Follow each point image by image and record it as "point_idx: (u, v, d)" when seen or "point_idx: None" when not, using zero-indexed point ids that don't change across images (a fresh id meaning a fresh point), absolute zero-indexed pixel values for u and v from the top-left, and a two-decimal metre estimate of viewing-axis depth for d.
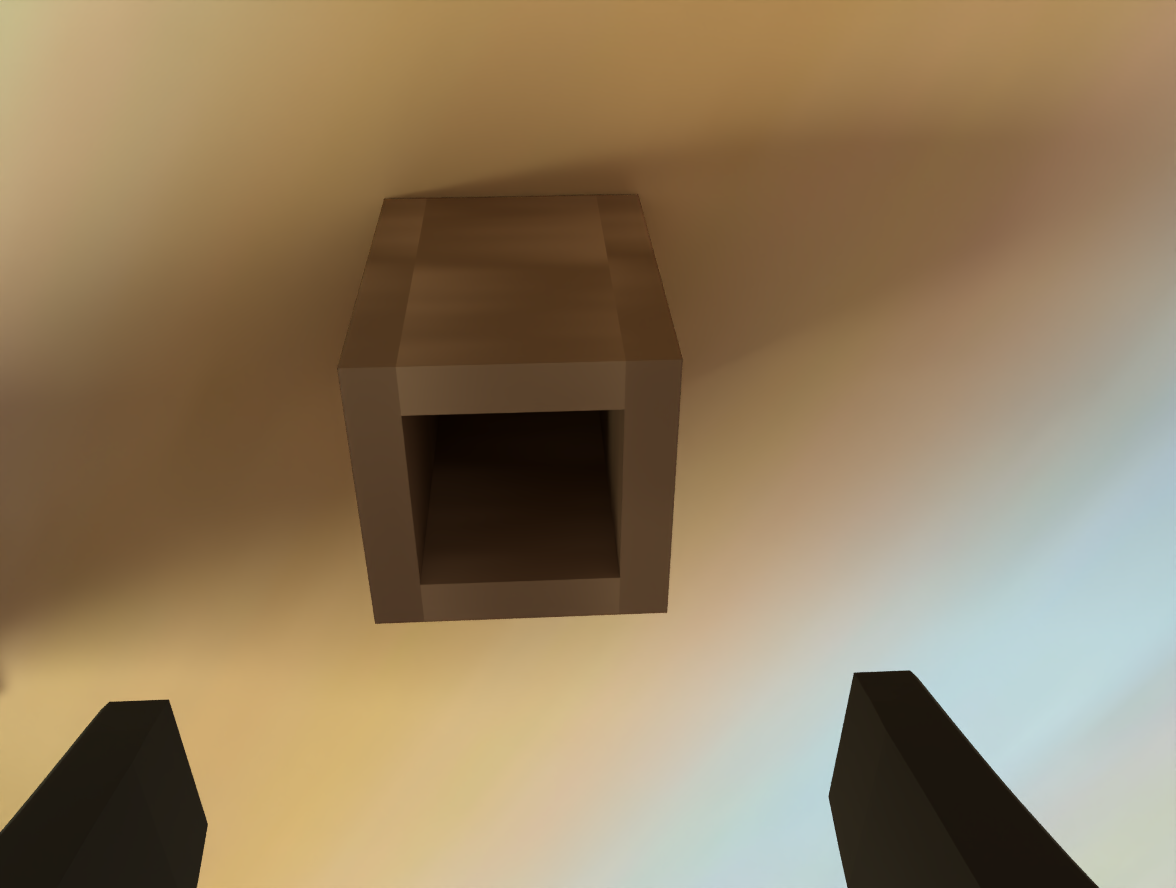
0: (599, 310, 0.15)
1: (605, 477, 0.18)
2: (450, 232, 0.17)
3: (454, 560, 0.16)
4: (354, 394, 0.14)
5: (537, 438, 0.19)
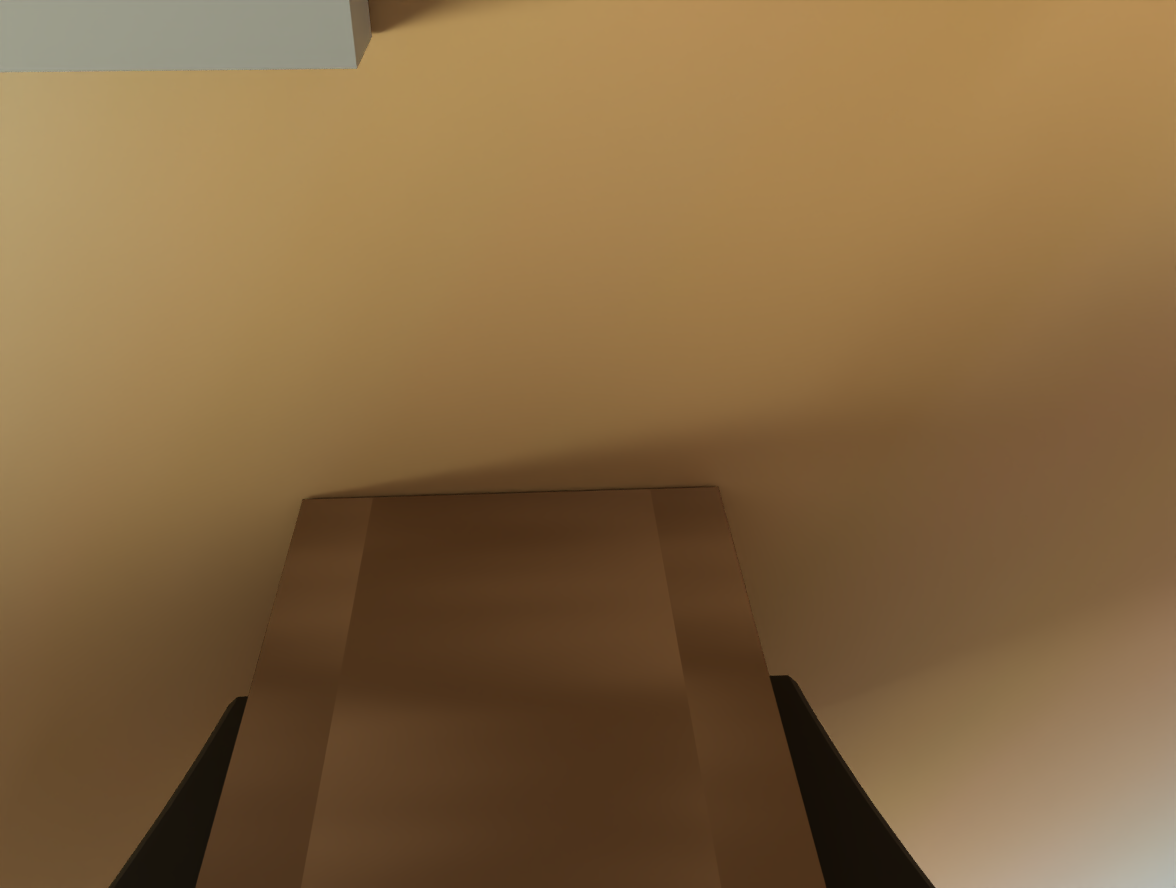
0: (681, 855, 0.08)
1: None
2: (406, 593, 0.10)
3: None
4: None
5: None
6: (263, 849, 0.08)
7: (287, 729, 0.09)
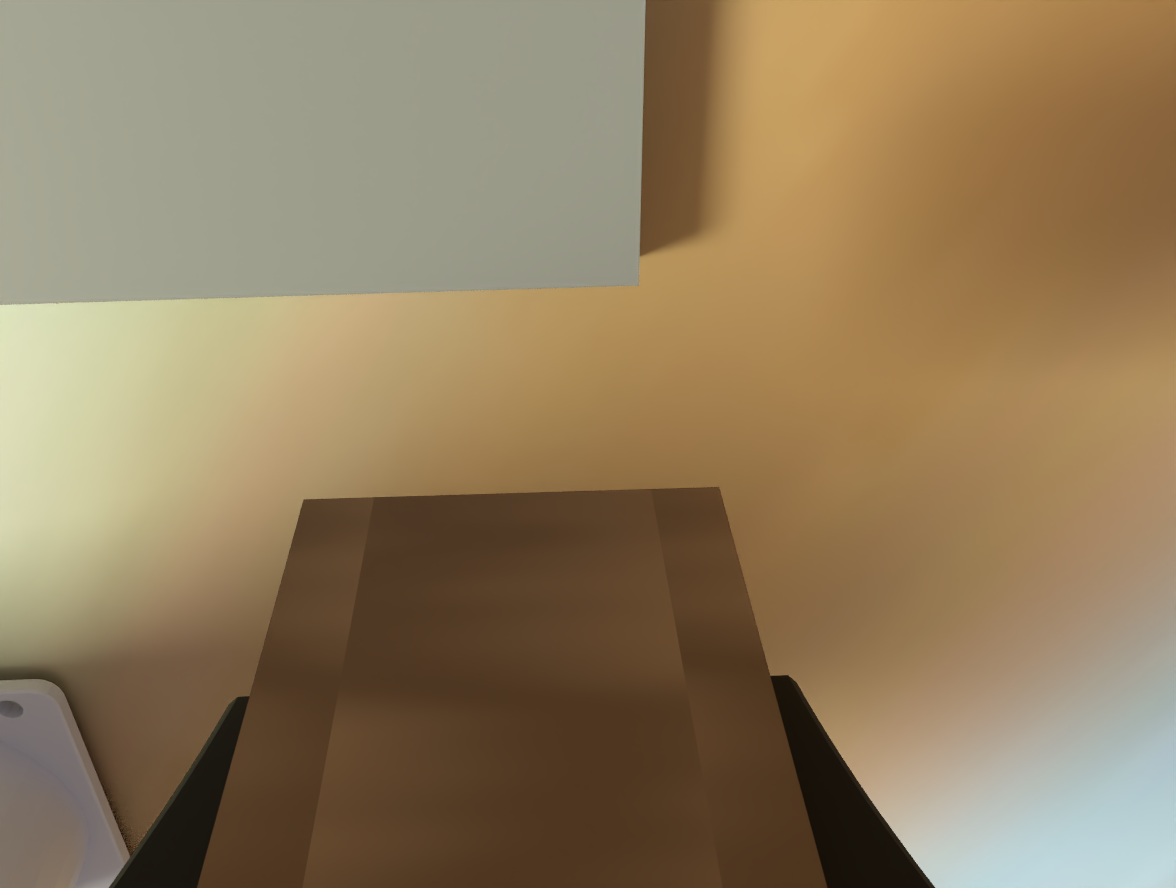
0: (681, 855, 0.08)
1: None
2: (407, 594, 0.10)
3: None
4: None
5: None
6: (264, 849, 0.08)
7: (288, 729, 0.09)
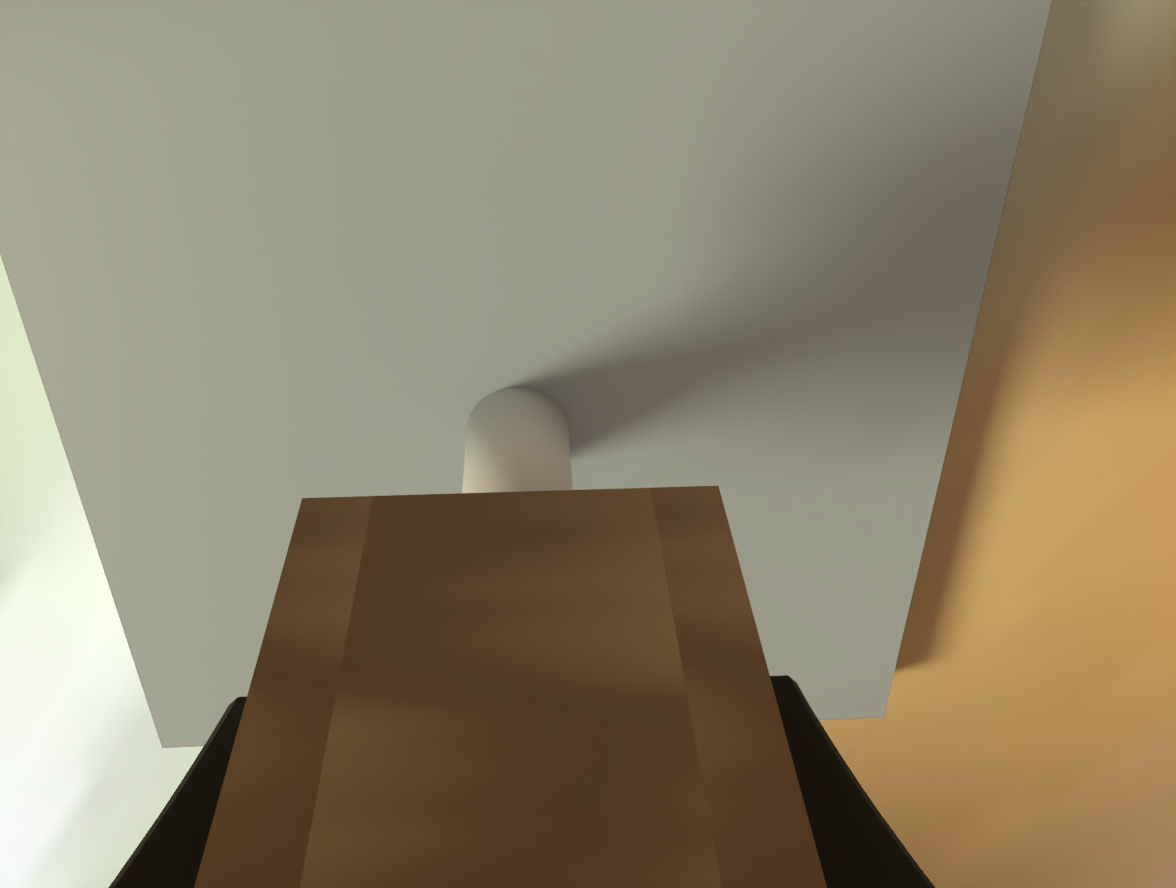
0: (680, 855, 0.08)
1: None
2: (406, 592, 0.10)
3: None
4: None
5: None
6: (262, 848, 0.08)
7: (286, 728, 0.09)
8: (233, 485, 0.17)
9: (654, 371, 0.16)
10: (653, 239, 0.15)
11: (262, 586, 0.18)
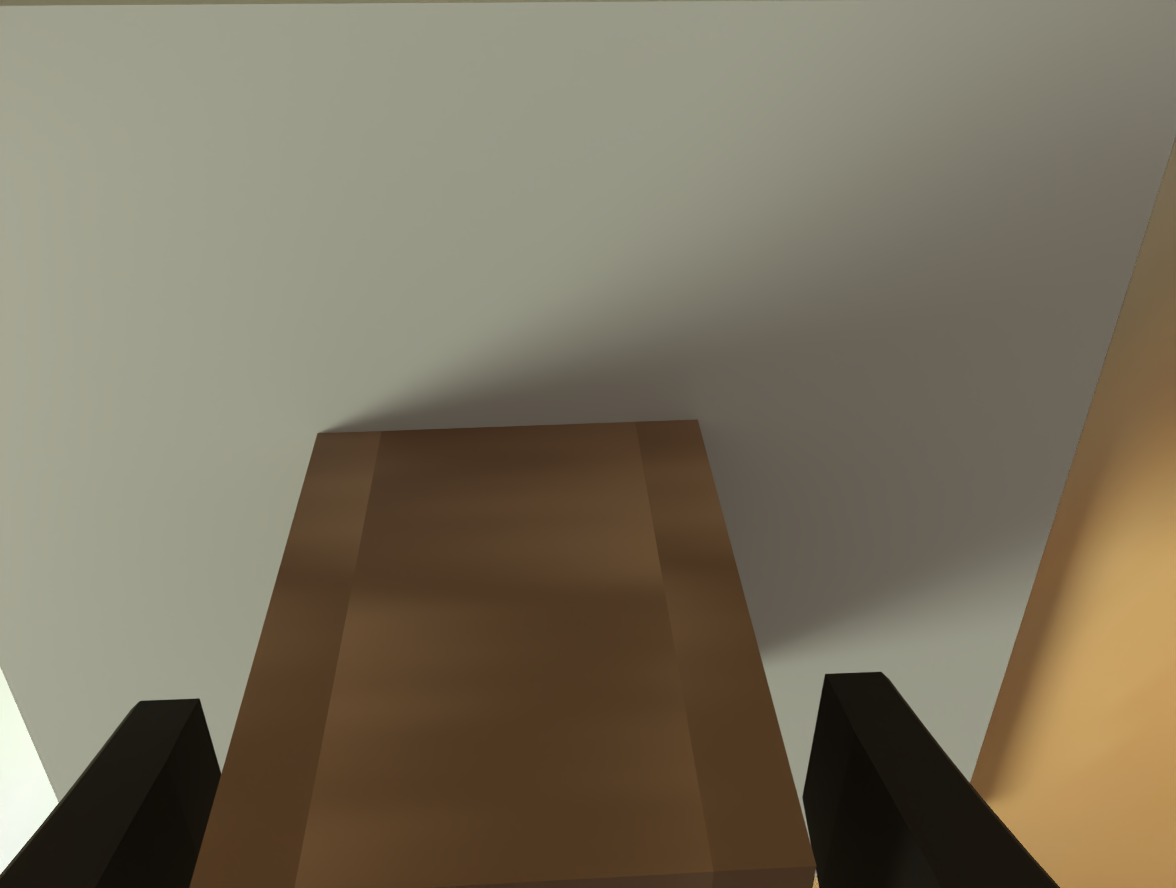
0: (656, 717, 0.09)
1: None
2: (412, 510, 0.11)
3: None
4: None
5: None
6: (288, 714, 0.09)
7: (307, 620, 0.10)
8: (177, 635, 0.14)
9: None
10: (686, 355, 0.12)
11: (217, 743, 0.15)
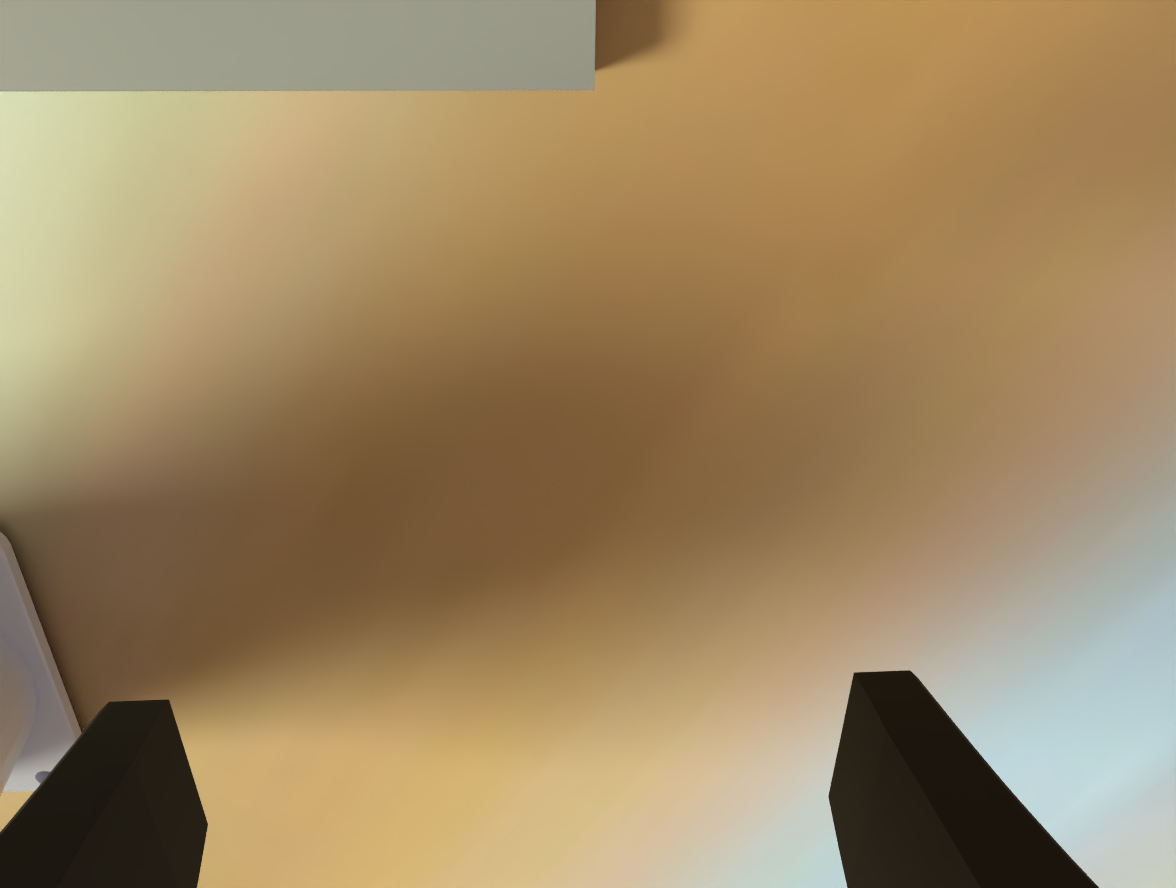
0: None
1: None
2: None
3: None
4: None
5: None
6: None
7: None
8: None
9: None
10: None
11: None
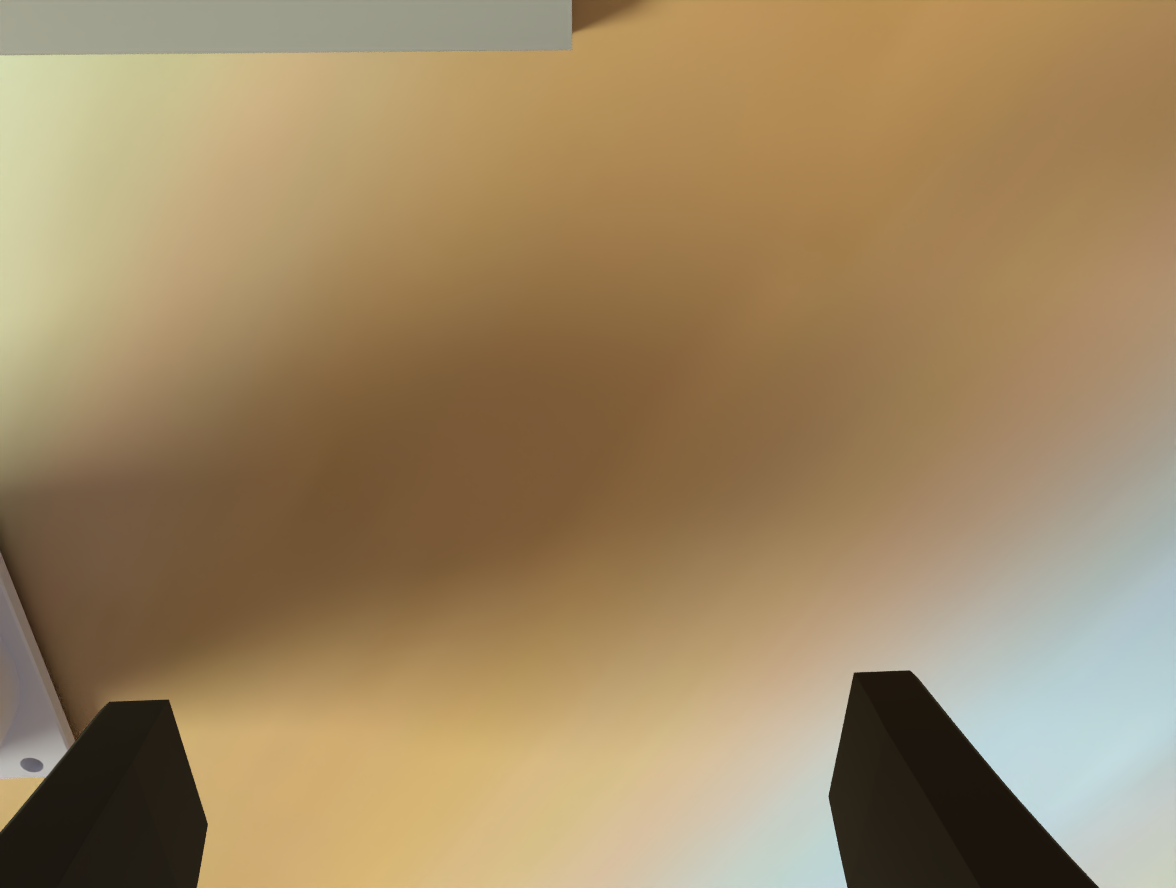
0: None
1: None
2: None
3: None
4: None
5: None
6: None
7: None
8: None
9: None
10: None
11: None
